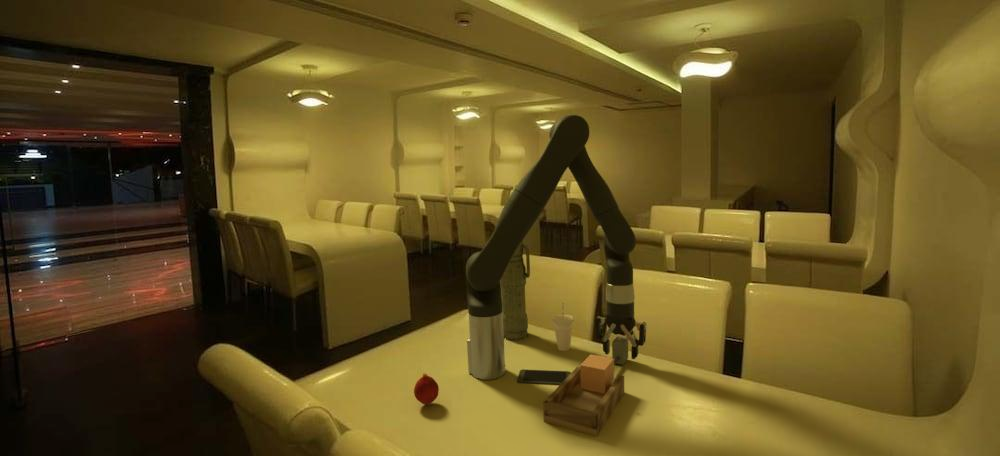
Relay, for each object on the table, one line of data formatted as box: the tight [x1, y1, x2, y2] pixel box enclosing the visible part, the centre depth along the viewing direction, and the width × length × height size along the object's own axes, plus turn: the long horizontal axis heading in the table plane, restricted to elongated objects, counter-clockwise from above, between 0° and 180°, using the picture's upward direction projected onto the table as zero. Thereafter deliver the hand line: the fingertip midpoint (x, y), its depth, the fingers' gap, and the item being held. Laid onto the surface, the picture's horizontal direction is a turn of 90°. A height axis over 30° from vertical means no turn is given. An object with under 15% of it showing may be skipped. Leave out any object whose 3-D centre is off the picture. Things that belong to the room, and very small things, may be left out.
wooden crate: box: [542, 366, 625, 437], centre depth 105 cm, size 20×12×4 cm, turn 149°
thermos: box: [500, 239, 531, 341], centre depth 150 cm, size 9×12×35 cm
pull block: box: [579, 335, 629, 394], centre depth 119 cm, size 25×6×7 cm, turn 149°
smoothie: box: [552, 302, 575, 352], centre depth 139 cm, size 6×6×14 cm
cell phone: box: [516, 368, 572, 386], centre depth 121 cm, size 7×14×1 cm, turn 79°
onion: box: [413, 372, 440, 406], centre depth 109 cm, size 6×6×8 cm
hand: (620, 355), depth 128 cm, fingers open, 7 cm apart
